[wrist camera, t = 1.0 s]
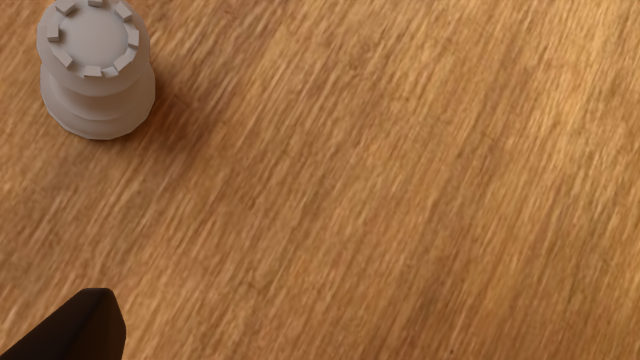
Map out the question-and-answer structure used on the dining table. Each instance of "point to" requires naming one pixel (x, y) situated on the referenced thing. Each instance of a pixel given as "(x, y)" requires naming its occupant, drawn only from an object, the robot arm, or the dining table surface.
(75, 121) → the rook chess piece
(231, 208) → the dining table surface
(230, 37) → the dining table surface
